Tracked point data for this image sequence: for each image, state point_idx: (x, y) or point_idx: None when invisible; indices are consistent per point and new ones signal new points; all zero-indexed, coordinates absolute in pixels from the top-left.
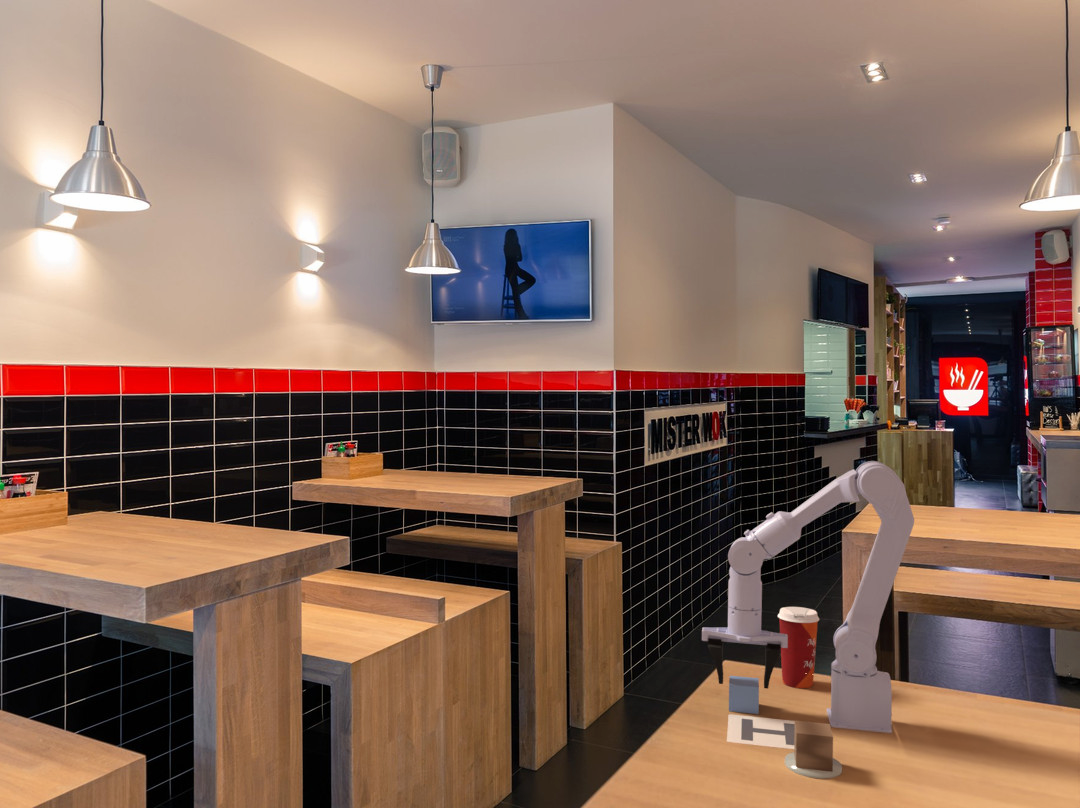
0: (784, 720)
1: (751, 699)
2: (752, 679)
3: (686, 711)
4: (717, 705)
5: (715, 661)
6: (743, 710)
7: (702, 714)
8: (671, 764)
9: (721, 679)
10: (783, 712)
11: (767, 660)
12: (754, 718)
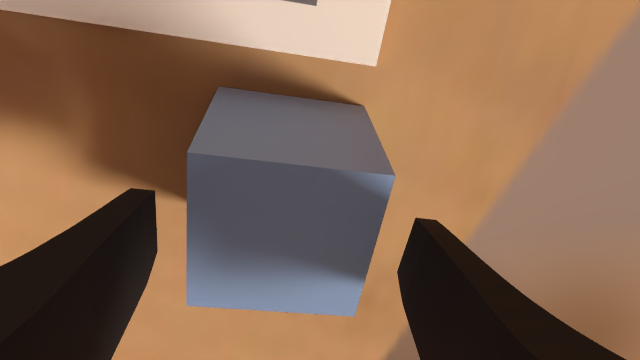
0: (72, 11)
1: (248, 123)
2: (224, 282)
3: (565, 97)
4: (396, 188)
5: (549, 317)
6: (294, 104)
7: (500, 69)
8: None
9: (434, 231)
10: (94, 151)
11: (3, 321)
12: (243, 19)
